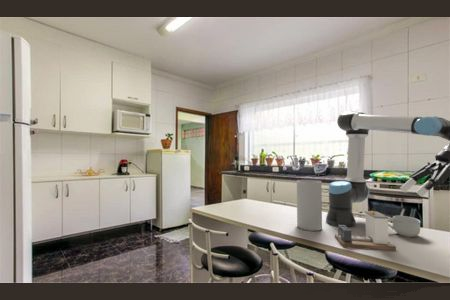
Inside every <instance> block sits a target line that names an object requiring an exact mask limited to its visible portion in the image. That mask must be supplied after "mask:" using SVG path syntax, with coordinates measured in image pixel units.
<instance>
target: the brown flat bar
mask: <svg viewBox="0 0 450 300" xmlns="http://www.w3.org/2000/svg"><path fill="white" fill-rule="evenodd" d="M363 236H364V235H363ZM363 236H352V240H353V241H370V242H373V240H372V238H371V237H363ZM339 238H340V239H341V240H342V237H341V236H340V235H339ZM389 242H390V241H388V243H389Z"/></svg>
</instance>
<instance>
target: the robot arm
mask: <svg viewBox="0 0 450 300" xmlns="http://www.w3.org/2000/svg"><path fill="white" fill-rule="evenodd" d="M336 121H337V126H338V128H339V129H341V130H343V131H344V132H345V136H346V137H347V138H348V142H347V143H348V144H347V146H348V147H347V165H346V166H347V167H346V170H347V171H346V177H345V178H344V179H343V181H342V180H340V181H339V180H338V181H332V182H330V183H329V184H328V211H327V214H326V216H325V222H326V223H327V224H328V225H332V226H335V227H338V225H345V226H347V227H348V228H353V227H356V225H357V223H356V222H357V221H356V218H355V216H354V213H353V210H352V209H353V204H355V203H362V202H364V201H366V200H368V198H369V196H370V193H371V192H370V188H369V186H368V185H367V180H366V179H365V178H364V171H365V169H364V168H365V151H366V150H365V146H366V138H367V137H368V136H369V132H370V131H377V132H390V133H398V134H399V133H401V134H402V133H403V134H412V135H421V136H426V137H427V136H432V137H439V138H442V139H444V140H447V141H449V143H447V144H446V145H445V146H444V147H443V149H442V150H439V152H438V153H437V154H436V155H434V158H435V160H434V161H433V162H431V163H430V161H428V162H426V163H425V164H423V165H422V166H421V167H420V168H418V169H416V170H415V171H413V172H412V173H411V174H409V175H408V177H409V179H408V180H407V181H405V183H403V185H401V186H400V187H399V189H400V190H401V191H403V192H404V193H405V194H406V193H407V192H408V191H409V190H410V189H411V188H412V187H414V186H415V185H416V184H417V183H418V181H420V180H423V178H426V177H427V176H429V175H431V178H428V180H426V181H425V182H424V183H423V184H422V185H421V186H419V188H417V189H416V190H415V193H416V194H417V195H419V197H421V198H422V197H424V196H425V195H426V194H427V193H428V192H429V191H430V190H432V189H433V188H434V187H435V186H438V185H439V186H442V185H443V184H444V183H446V181H447V180H448V178H449V177H450V120H448V119H446V118H443V117H439V116H436V115H435V116H409V115H408V116H405V115H404V116H403V115H383V114H381V115H379V114H378V115H377V114H367V113H364V112H359V111H352V110H347V111H344V112H342V113H341V114H339V116H338V117H337V120H336Z"/></svg>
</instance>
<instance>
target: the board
mask: <svg viewBox="0 0 450 300" xmlns="http://www.w3.org/2000/svg"><path fill="white" fill-rule="evenodd" d="M352 236H363V237H366V235H364V234H363V235H359V234H352ZM334 238H335V240H337V242H338V243H339V244H340V245H341V246H342V247H343V248H348V247H351V248H352V249H364V248H370V249H369V250H379V249H383V250H382V251H394V250H395V251H397V246H396V245H394V244H393V243H391V242H390V241H389V243H388V244H377V243H374V242H370V241H353V240H352V242H344V241H343V240H341V239H340V238H339V236H338V233H334Z"/></svg>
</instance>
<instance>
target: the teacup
mask: <svg viewBox="0 0 450 300" xmlns="http://www.w3.org/2000/svg"><path fill="white" fill-rule="evenodd" d="M387 217H388V220H390V221H391V223H392V224H389V223H388V228H391V229H392V230H394V231H395V232H396V233H397V234H398V235H400V236H402V237H406V238H414V237H417V236H418V235H420V233H421V220H420V219H418V218H415V217H413V216H412V217H411V216H406V215H394V216H392V217H390V216H387Z"/></svg>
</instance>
